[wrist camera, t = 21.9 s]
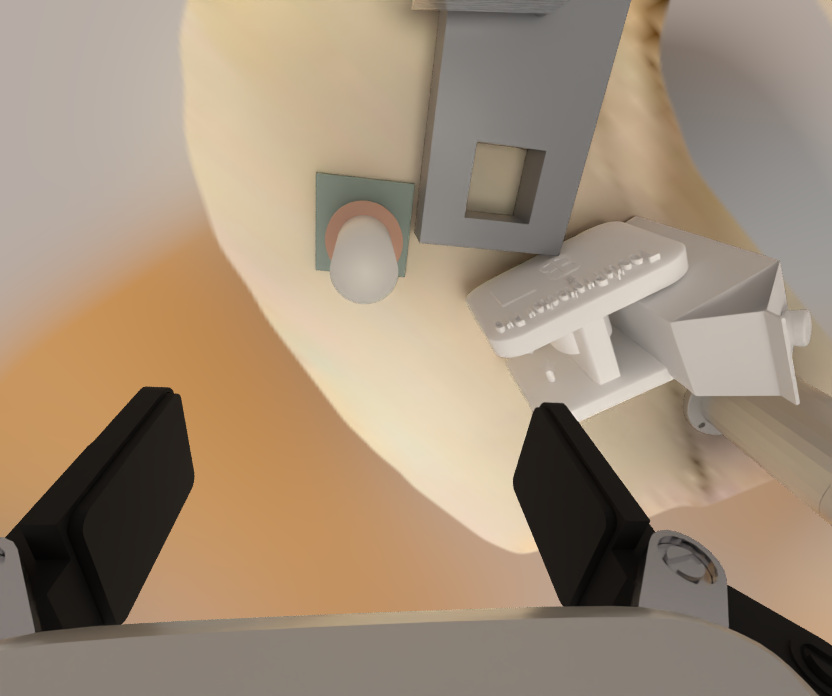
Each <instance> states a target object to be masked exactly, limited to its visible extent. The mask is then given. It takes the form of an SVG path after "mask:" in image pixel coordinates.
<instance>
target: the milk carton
mask: <svg viewBox="0 0 832 696" xmlns="http://www.w3.org/2000/svg"><path fill="white" fill-rule="evenodd" d="M625 223H627V224H630V225H632V226H635V227H638V228H641V229H644V230H647V231H650V232H652V233H655V234H658V235H661V236H664V237H667V238H670V239H672V240H675V241H678V242H681V243H683V244H684V245H685V247H686V253H687V260H688V266H689V267H688V270H687V272H686V273H685V275H684V276H683V277H681V278H680V279H679V280H678V281H676V282H675V283H673V284H671V285H669V286H667V287H665V288H663V289H661V290H659V291H657V292H655V293H653V294H651V295H649V296H646V297H644V298H642V299H640V300H638V301H636V302H634V303H632V304H630V305H628V306H626V307H624V308H622V309H619V310H617V311H615V312H613V313H611V314H609V315H608V316H609V320H610V323H611V324H613V325H614V326H615V327H616V328H618V329H619V330H620V331H622V332H623V333H624V334H625V335H627V336H628V337H629V338H631V339H632V340H633V341H634V342H636V343H637V344H638V345H640V346H641V347H642V348H643V349H645V350H646V351H647V352H649V353H650V354H651V355H652V356H654V357H655V358H656V359H657V360H658V361H660V362H661V363H662V364H663V365H664V366H665V367H666V368H667V370H668V372H669V374H670V375H671V376H672V377H673V378H674V379H676V380H677V381H678V382H679V383H681V384H682V385H683V386H684V387H686V388H687V389H688V390H689V391H691V392H692V393H693V394H694V395H696V396H782V397H784V398H785V399H787V400H789V401H790V402H792V403H793V404H795V405H796V406H797V405H799V404H800V400H799V394H798V389H797V383H796V377H795V371H794V365H793V360H792V353H793V348H794V346H807V345H808V344H809V342H810V338H811V315H810V312H809V311H808V310H788V306H787V300H786V294H785V288H784V282H783V276H782V270H781V265H780V261H778V260H776V259H773V258H770V257H767V256H764V255H760V254H757V253H754V252H751V251H748V250H744V249H741V248H738V247H735V246H732V245H728V244H725V243H722V242H719V241H715V240H712V239H709V238H706V237H703V236H699V235H696V234H693V233H690V232H687V231H683V230H680V229H677V228H674V227H671V226H667V225H664V224H661V223H658V222H654V221H651V220H648V219H645V218H642V217H638V216H635V217H633V218H631V219H630V220H628V221H627V222H625Z"/></svg>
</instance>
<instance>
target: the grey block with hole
mask: <svg viewBox="0 0 832 696" xmlns="http://www.w3.org/2000/svg"><path fill="white" fill-rule="evenodd" d="M630 2H631V0H571V1H570V2H568V3H567V4H565V5H564V6H562V7H560V8H559V9H557V10H556V11H554V12H553V13H551V14H547V15H545V16H543V17H538V16H536V15H535V14H534V13H511V12H478V11H445V10H440V12H439V21H438V29H437V38H436V47H435V56H434V64H433V73H432V82H431V91H430V100H429V108H428V117H427V126H426V135H425V144H424V152H423V161H422V170H421V179H420V187H419V196H418V205H417V214H416V223H415V231H414V233H415V235H416V237H417V239H418V241H419V243H426V244H436V245H447V246H457V247H468V248H479V249H489V250H500V251H511V252H521V253H532V254H543V255H553V256H559V255H560V251H561V247H562V244H563V240H564V237H565V233H566V230H567V226H568V223H569V219H570V215H571V212H572V208H573V205H574V201H575V198H576V194H577V191H578V187H579V183H580V180H581V176H582V173H583V169H584V166H585V162H586V159H587V155H588V151H589V148H590V144H591V141H592V137H593V134H594V130H595V127H596V123H597V120H598V116H599V112H600V109H601V105H602V102H603V98H604V95H605V91H606V88H607V84H608V80H609V77H610V73H611V70H612V66H613V63H614V59H615V56H616V52H617V48H618V45H619V41H620V38H621V34H622V31H623V27H624V24H625V20H626V16H627V13H628V9H629V6H630ZM477 142H479V143H486V144H494V145H501V146H509V147H516V148H523V149H528V150H527V155H526V159H525V164H524V168H523V173H522V177H521V182H520V187H519V191H518V196H517V200H516V205H515V209H514V214H513V216H511V215H502V214H493V213H484V212H474V211H466V205H467V199H468V193H469V187H470V181H471V175H472V169H473V163H474V157H475V151H476V145H477Z"/></svg>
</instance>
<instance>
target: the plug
mask: <svg viewBox="0 0 832 696" xmlns="http://www.w3.org/2000/svg"><path fill="white" fill-rule="evenodd" d="M325 246H326V250H327V253H328V256H329V258H330V260H331V264H330V276H331V280H332V283H333V285H334V287H335V288H336V290H337V291H338V292H339V293H340V294H341V295H342V296H343V297H345V298H346V299H348V300H350V301H352V302H355V303H359V304H371V303H375V302H378V301H380V300H382V299H384V298H385V297H386V296H388V295H389V294H390V293H391V291H392V290H393V288H394V287H395V285H396V282H397V279H398V265H397V262H398V260H399V258H400V256H401V253H402V248H403V236H402V231H401V229H400V226H399V224H398V222H397V220H396V218H395V217H394V215H393V214H392V213H391V212H390V211H389V210H388V209H386V208H385V207H384V206H382V205H380V204H378V203H375V202H372V201H365V200H360V201H354V202H350V203H348V204H346V205H344V206H342V207H341V208H340V209H338V210H337V211H336V212H335V213H334V215H333V216H332V218H331V219H330V221H329V224H328V226H327V229H326V233H325Z"/></svg>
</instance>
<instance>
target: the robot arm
mask: <svg viewBox="0 0 832 696" xmlns="http://www.w3.org/2000/svg"><path fill="white" fill-rule="evenodd" d="M796 383H797V389H798V394H799V400H800V404H799V405H797V406H796V405H795V404H793V403H792V402H790V401H789V400H787V399H785V398H784V397H782V396H696V395H694V394H693V393H692V392H691V391H689V390H688V389H687V391H686V394H685V397H684V402H683V412H684V415H685V418H686V420H687V421H688V422H689V423H690V424H691V425H692V426H693V427H694V428H695V429H696V430H698V431H700V432H702V433H705V434H710V435H724V436H725V437H726V438H728V439H729V440H730V441H731V442H732V443H734V444H735V445H736V446H737V447H738V448H739V449H741V450H742V451H743V452H744V453H745V454H747V455H748V456H749V457H750V458H751V459H752V460H754V461H755V462H756V463H757V464H758V465H760V466H761V467H762V468H763V469H764V470H766V471H767V472H768V473H769V474H770V475H771V476H773V477H774V478H775V479H776V480H777V481H779V482H780V483H781V484H782V485H783V486H784V487H786V488H787V489H788V490H789V491H790V492H792V493H793V494H794V495H795V496H796V497H798V498H799V499H800V500H801V501H802V502H804V503H805V504H806V505H807V506H808V507H810V508H811V509H812V510H813V511H814V512H815V513H817V514H818V515H819V516H820V517H821V518H823V519H824V520H825V521H826V522H827V523H829V524H830V525H831V526H832V397H831V396H829V395H827V394H825V393H823V392H822V391H820V390H818V389H816V388H815V387H813V386H811V385H809V384H807V383H806V382H804V381H802V380H800V379H799V378H797V377H796ZM193 483H194V469H193V463H192V457H191V452H190V446H189V441H188V435H187V429H186V423H185V418H184V412H183V406H182V401H181V397H180V395H179V394H174V393H173V390H172V389H171V388H168V387H143V388H142V389H140V391H138V393H137V394H136V395H135V396H134V397H133V398H132V399H131V400H130V402H129V403H128V404H127V405H126V406H125V407H124V408H123V409H122V411H120V413H119V414H118V415H117V416H116V417H115V418H114V419H113V420H112V422H111V423H110V424H109V425H108V426H107V427H106V428H105V430H104V431H103V432H102V433H101V434H100V435H99V436H98V437H97V438H96V439H95V440H94V441H93V442H92V443H91V444H90V445H89V446H88V447H87V448H86V449H85V450H84V451H83V452H82V453H81V454H80V455H79V456H78V458H77V459H76V460H75V461H74V462H73V463H72V464H71V465H70V466H69V468H68V469H67V470H66V471H65V472H64V473H63V475H61V476H60V478H59V479H58V480H57V481H56V482H55V483H54V484H53V485H52V486H51V487H50V489H49V490H48V491H47V492H46V493H45V494H44V495H43V496H42V497H41V499H40V500H39V501H38V502H37V503H36V504H35V505H34V506H33V507H32V508H31V510H30V511H29V512H28V513H27V514H26V515H25V516H24V517H23V518H22V520H21V521H20V522H19V523H18V524H17V525H16V526H15V527H14V528H13V529H12V531H11V532H10V533H9V534H8V535H7V536H6V537H5V538H3V537H0V696H832V645H830V644H829V643H827V642H825V641H824V640H823V639H821V638H819V637H818V636H816V635H814V634H812V633H811V632H809V631H807V630H805V629H804V628H802V627H800V626H798V625H797V624H795V623H793V622H792V621H790V620H788V619H786V618H784V617H783V616H781V615H779V614H778V613H776V612H774V611H772V610H771V609H769V608H767V607H765V606H763V605H762V604H760V603H758V602H757V601H755V600H753V599H751V598H749V597H748V596H746V595H744V594H743V593H741V592H739V591H737V590H736V589H734V588H732V587H730V586H728V585H727V579H726V575H725V571H724V569H723V567H722V566H721V565H720V563H719V561H718V560H717V559H716V558H715V556H714V555H713V554H712V553H711V552H710V551H709V550H708V549H706V548H705V547H704V546H703V545H701V544H700V543H699V542H697V541H695V540H694V539H692V538H690V537H689V536H686V535H683V534H681V533H679V532H675V531H670V530H662V531H657V532H655V531H654V530H653V528H652V527H651V526H650V524H649V523H650V519H649V518H648V517H647V515H646V514H645V513H644V511H643V510H642V509H641V507H640V506H639V504H638V503H637V502H636V500H635V499H634V498H633V496H632V495H631V494H630V492H629V491H628V489H627V488H626V487H625V485H624V484H623V483H622V481H621V480H620V478H619V477H618V476H617V474H616V473H615V472H614V470H613V469H612V468H611V466H610V465H609V463H608V462H607V461H606V459H605V458H604V457H603V455H602V454H601V452H600V451H599V450H598V448H597V447H596V446H595V444H594V443H593V442H592V440H591V439H590V437H589V436H588V435H587V433H586V432H585V431H584V429H583V428H582V427H581V425H580V424H579V422H578V421H577V420H576V418H575V417H574V416H573V414H572V413H571V411H570V410H569V409H568V407H567V406H566V405H565V404H564V403H551V402H544V403H542V404H541V405H540V407H536V408H535V409H534V411H533V414H532V418H531V421H530V424H529V428H528V431H527V434H526V437H525V441H524V444H523V447H522V451H521V454H520V457H519V460H518V464H517V467H516V470H515V474H514V477H513V487H514V491H515V493H516V496H517V498H518V501H519V503H520V506H521V508H522V510H523V513H524V515H525V518H526V520H527V523H528V525H529V527H530V530H531V532H532V535H533V537H534V540H535V542H536V545H537V547H538V549H539V552H540V554H541V556H542V559H543V562H544V564H545V566H546V569H547V571H548V574H549V576H550V579H551V581H552V583H553V586H554V588H555V591H556V593H557V596H558V598H559V600H560V602H561V604H562V605H563V606H564V607H527V608H496V609H466V610H436V611H410V612H383V613H358V614H334V615H308V616H284V617H261V618H239V619H217V620H195V621H175V622H174V621H173V622H157V623H140V624H124V625H121V624H122V623H123V622H124V621H125V620H126V618H127V617H128V615H129V612H130V611H131V609H132V607H133V605H134V603H135V601H136V599H137V597H138V595H139V593H140V591H141V589H142V586H143V585H144V583H145V581H146V579H147V577H148V575H149V573H150V571H151V569H152V567H153V565H154V563H155V561H156V559H157V557H158V555H159V553H160V551H161V549H162V547H163V545H164V543H165V541H166V539H167V537H168V535H169V533H170V531H171V529H172V527H173V525H174V523H175V521H176V519H177V517H178V515H179V513H180V511H181V509H182V507H183V505H184V503H185V501H186V499H187V497H188V495H189V493H190V491H191V489H192V487H193Z"/></svg>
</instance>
